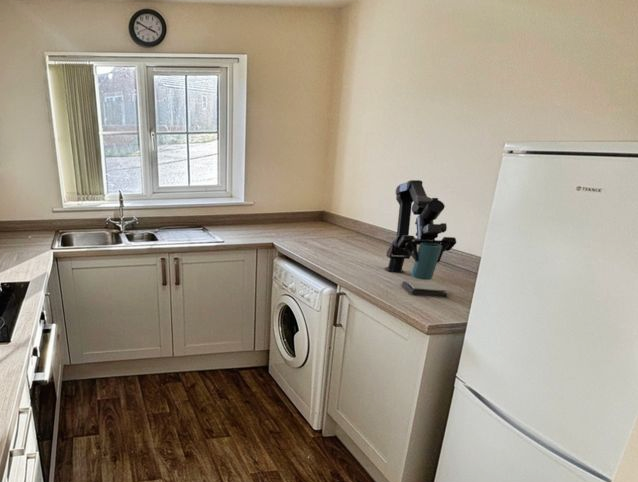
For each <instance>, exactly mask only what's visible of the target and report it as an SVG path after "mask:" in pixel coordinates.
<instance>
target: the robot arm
mask: <svg viewBox="0 0 638 482" xmlns="http://www.w3.org/2000/svg"><path fill="white" fill-rule="evenodd" d="M423 183H424V182H423V180H419V179H418V180H417V179H411V180H408V181H406V182H403V183H400V184H399V185H397V186H396V188H395V195H396V196H395V197H396V198H395V199H396V201H397V203H398V204H399V207H398V208H399V210H398V219H397V228H396V237H395V238H394V239H393V240H392V242H391V244H390V246H389V248H388V249H387V250H386V257H387V258H389V262H388V266H385V269H386V271H387V272H390V273H392V272H393V273H405V270H403V267H404V262H405V259H407V260H409V259H410V258H411V257H412V259H413V260H414V262H415V261H418V245H419V246H420V243H423V242H427V243H435V244H440V245H442V249H441V252H440V255H439V258H438V261H437V264H439V263H440V261H441V259H442V257H443V254H444V252H445V251H446V252H449V251H451V250H452V249H453V247H455V246H456V244H457V238H456V237H454V236H443V237H442V239H441V240H439V239H437V238H438V237H439V234H441V233H445V232H447V229H448V226H447V223H446V222H443V223H442V222H441V223H434V221H435V220H437V219H438V217H439V216H440V215H441V213H442V212H443V211H444V209H445V206H446V205H445V203H444V202H443V201H441V200H440V199H439V197H429V196H428V195H427V193H426V191H425V188H424V186H423ZM412 214H413V215H415V216H417V217H416V219H415V223H414V225H415V226H416V233H415V236H414V235H409V234H410V227H411V226H410V225H411V215H412ZM415 237H416V238H415ZM436 239H437V240H436Z"/></svg>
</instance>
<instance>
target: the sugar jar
mask: <svg viewBox="0 0 638 482" xmlns="http://www.w3.org/2000/svg"><path fill="white" fill-rule="evenodd" d="M441 249H442V245H440V244H435V243H427V242H423V243H420V245H419V246H418V248H417V253H418V261H415V260H414V262H413V267H412V270H411V273H410V276H411V277H412V278H414V279H418V280H423V281H430V280H432V279H433V277H434V274H435V270H436V267H437V265H438V262H437V261H438V258H439V255H440V252H441Z"/></svg>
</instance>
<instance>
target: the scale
mask: <svg viewBox="0 0 638 482" xmlns="http://www.w3.org/2000/svg"><path fill="white" fill-rule="evenodd" d="M406 281H407V280H406ZM406 281H405V280H403V281H402V283H401V285H402V286H403V287H404V288H405V289H406V291H407V292H409V294H410V295H411V296H412V295H413V296H425V297H438V298H439V297H441V298H447V297H448V293H447V291H446V292H442V291H427V290H414V289H413V288H412V287H411V286H410V285H409V284H408V283H407V282H406Z"/></svg>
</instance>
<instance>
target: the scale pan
mask: <svg viewBox="0 0 638 482" xmlns="http://www.w3.org/2000/svg"><path fill="white" fill-rule="evenodd" d="M406 282H407V283H408V284H409V285H410V286H411V287H412V288H413V289H414V290H427V291H442V292H446V293H447V289H446V288H444V287H443V286H442V285H440V284H439V283H438V282H435V281H422V280H421V281H419V280H406Z"/></svg>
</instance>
